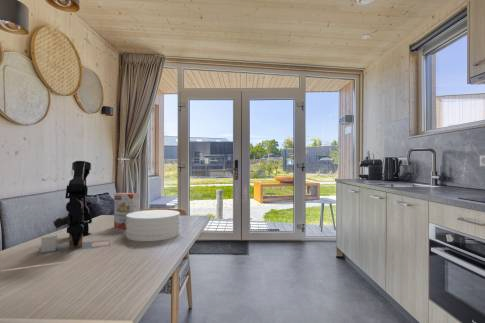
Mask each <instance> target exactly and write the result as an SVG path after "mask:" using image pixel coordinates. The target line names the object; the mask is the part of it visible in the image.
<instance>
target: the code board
mask: <svg viewBox="0 0 485 323" xmlns="http://www.w3.org/2000/svg"><path fill="white" fill-rule="evenodd" d="M110 242H111V241H110V239H104V240H94V241H87V242H82V247H80V248H71V249H69V243H68V244H61V245H60V244H59V245H58V244H57V248H56V250H55V251H47V252H41V247H39V248H38V250H37V251H36V253H35V256H38V255H40V256H41V255H46V254H54V253H55V254H56V253H64V252H71V251H79V250H80V251H81V250H87V249H88V250H89V249H97V248H103V247H104V248H105V247H111V243H110Z"/></svg>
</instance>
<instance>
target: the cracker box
mask: <svg viewBox="0 0 485 323" xmlns="http://www.w3.org/2000/svg"><path fill="white" fill-rule="evenodd" d="M113 208H114V209H113V213H114V214H113V216H114V217H113V227H114V228H120V229H127V228H126V224H127V223H126V220H127V218H126V215H127V214H129V213H133V212H138V211H140V193H135V192H134V193H132V192H131V193H130V192H115V193H114V203H113Z"/></svg>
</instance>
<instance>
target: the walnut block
mask: <svg viewBox="0 0 485 323" xmlns="http://www.w3.org/2000/svg"><path fill="white" fill-rule="evenodd" d="M82 235H83V233H82ZM82 235H81V238H80V240H79V242H78V245H77V246H74V243H73V239H72V235H70V234H69V233H68V237H69V238H68V244H69V249H71V248H80V247H82V243H83V236H82Z"/></svg>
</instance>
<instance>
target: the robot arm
mask: <svg viewBox="0 0 485 323" xmlns="http://www.w3.org/2000/svg"><path fill="white" fill-rule="evenodd" d="M71 170H72V171H73V175H72V176H73V177H72V178H71V179H70V180H69V181H68V184H67V185H66V190H65V196H64V197H65V199H69V200H68V202H67V203H66V206H65V210H66V211H67V212H68V213H67V215H65V216H62V217H59V218H56V220H54V221H53V226H55V229H59V228H60V227H63V226H66V225H67V228H66V234H68V235H69V234H70V235H72V239H73V243H74V246H77V245H78V242H79V240H80V238H81V235H82V233H83V235H82V237H84V236H88V235H91V232H89V230H90V229H89V225H90V224H92V223H93V215H92V214H91V212H90V208H89V206H87V196H88V192H89V187H88V186H87V177H88V176H89V174H90V171H92V163H91V162H89V161H85V160H75V161H74V162H72V164H71Z"/></svg>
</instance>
